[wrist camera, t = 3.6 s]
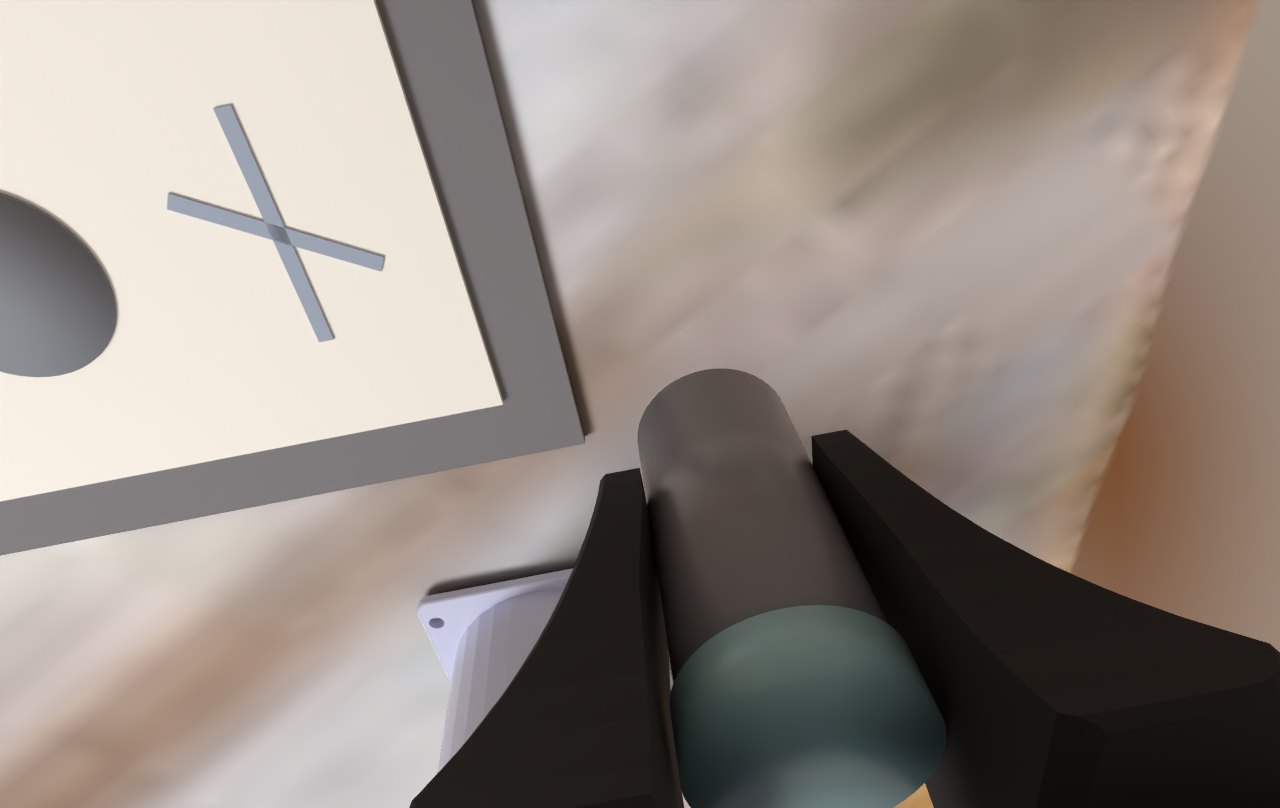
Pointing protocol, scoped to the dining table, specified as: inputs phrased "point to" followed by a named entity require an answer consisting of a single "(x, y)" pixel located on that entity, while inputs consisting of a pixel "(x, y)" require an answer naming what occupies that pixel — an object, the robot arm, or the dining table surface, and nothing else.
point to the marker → (772, 616)
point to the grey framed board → (257, 260)
